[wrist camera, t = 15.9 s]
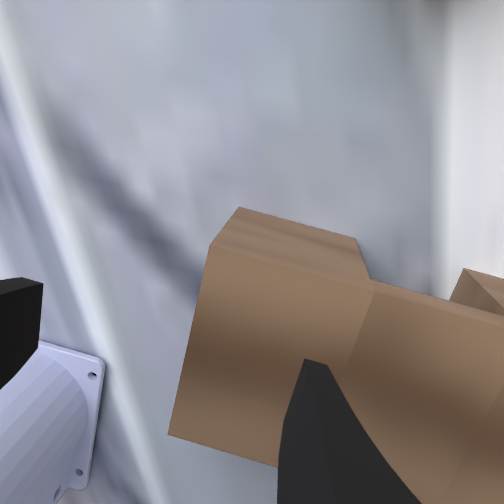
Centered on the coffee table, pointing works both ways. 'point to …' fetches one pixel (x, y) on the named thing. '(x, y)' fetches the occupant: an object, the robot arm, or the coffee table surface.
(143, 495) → the coffee table surface
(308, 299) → the brown notched block
